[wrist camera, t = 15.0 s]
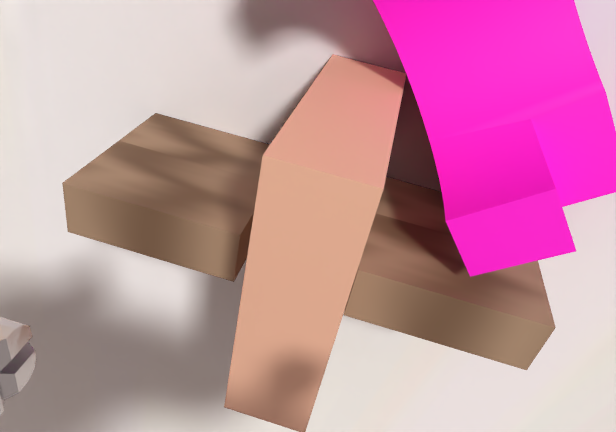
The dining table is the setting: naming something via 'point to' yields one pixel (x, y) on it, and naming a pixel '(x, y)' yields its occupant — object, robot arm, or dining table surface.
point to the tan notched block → (310, 237)
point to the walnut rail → (238, 223)
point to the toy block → (507, 120)
